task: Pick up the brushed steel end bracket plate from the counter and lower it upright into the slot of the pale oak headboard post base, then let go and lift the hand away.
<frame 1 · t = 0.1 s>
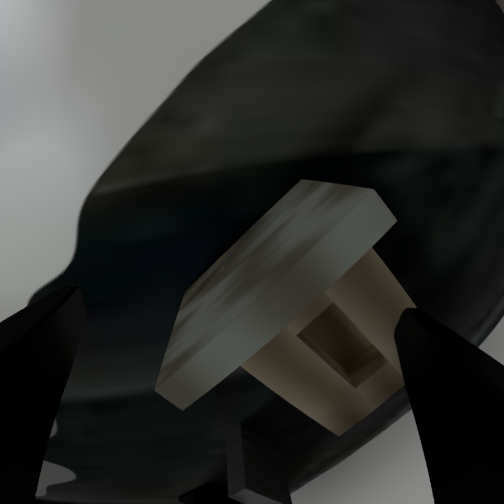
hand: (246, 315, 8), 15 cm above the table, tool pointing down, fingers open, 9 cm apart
post base: (319, 314, 25), on the table
bracket plate: (254, 442, 29), on the table
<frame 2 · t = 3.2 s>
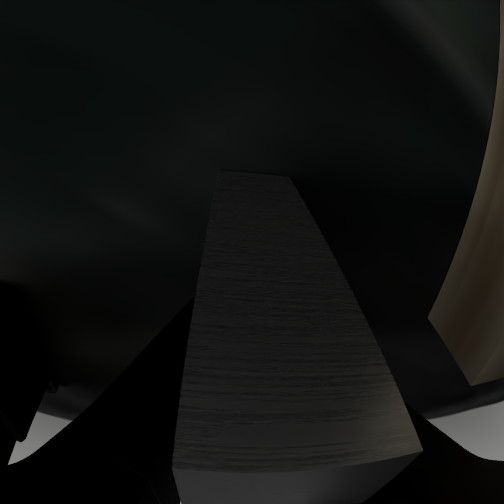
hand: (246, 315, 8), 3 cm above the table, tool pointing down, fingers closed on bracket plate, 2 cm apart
bracket plate: (244, 265, 10), on the table, touching gripper
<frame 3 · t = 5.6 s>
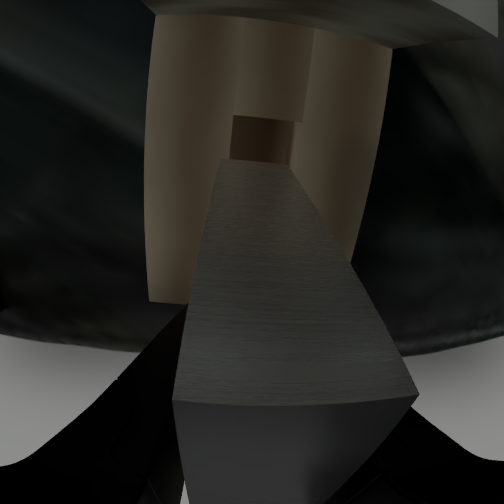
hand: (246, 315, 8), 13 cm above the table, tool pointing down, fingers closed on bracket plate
post base: (256, 149, 19), on the table
bracket plate: (243, 251, 11), point 11 cm above the table, touching gripper
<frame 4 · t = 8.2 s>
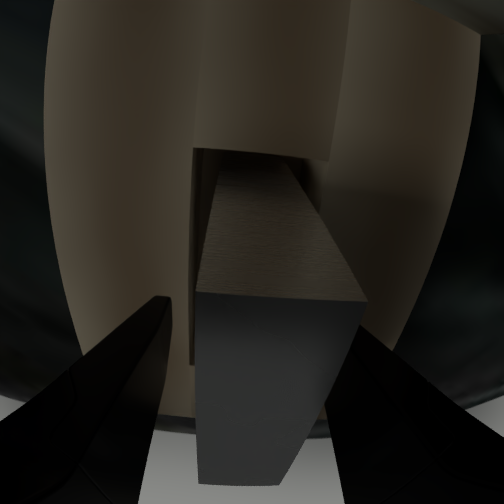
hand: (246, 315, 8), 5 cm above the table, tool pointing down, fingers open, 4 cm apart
post base: (247, 191, 12), on the table
bracket plate: (243, 234, 12), point 1 cm above the table, touching post base
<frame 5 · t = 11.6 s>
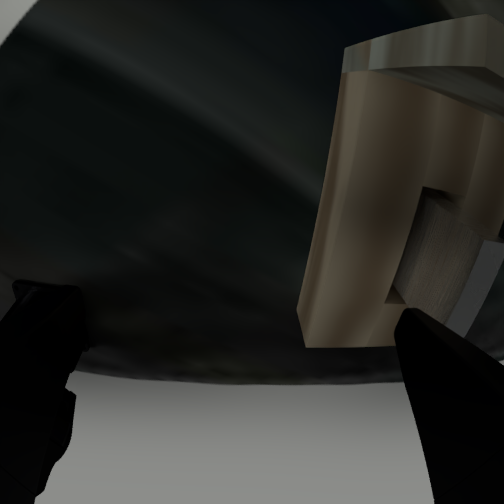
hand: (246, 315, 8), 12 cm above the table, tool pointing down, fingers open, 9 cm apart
post base: (404, 203, 20), on the table
bracket plate: (405, 227, 19), point 1 cm above the table, touching post base
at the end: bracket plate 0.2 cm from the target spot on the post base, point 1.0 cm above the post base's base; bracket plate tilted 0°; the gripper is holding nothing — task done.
